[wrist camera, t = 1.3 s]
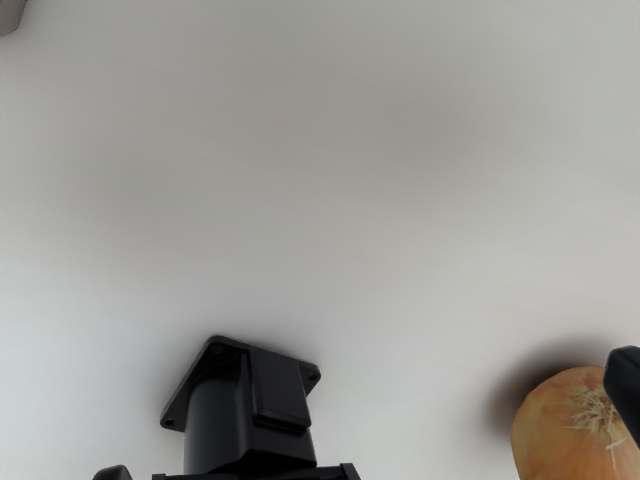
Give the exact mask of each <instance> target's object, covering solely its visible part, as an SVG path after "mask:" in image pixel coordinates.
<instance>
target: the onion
mask: <svg viewBox="0 0 640 480" xmlns="http://www.w3.org/2000/svg"><path fill="white" fill-rule="evenodd" d="M604 370H605V369H604V368H601V367H598V366H594V365H593V366H584V367H573V368H570V369H567V370H564V371H561V372H559V373H558V374H557V375H555V376H553V377H551V378H548V379H547V380H545V381H544V382H542V383H541V384H539V385H538V386H537V387H536V388H535V389H534V390H532V391H531V392H530V393H528V395H527V396H526V398H525V400H524V401H523V403H522V405H521V406H520V408H519V409H518V411H517V413H516V416H515V419H514V422H513V425H512V429H511V446H512V451H513V456H514V460H515V464H516V467H517V470H518V474H519V477H520V480H640V450H639V448H638V447H637V445H636V443H635V442H634V440H633V438H632V437H631V435H630V433H629V431H628V430H627V428H626V426H625V425H624V423H623V421H622V420H621V418H620V416H619V415H618V413H617V411H616V410H615V408H614V406H613V405H612V403H611V401H610V399H609V398H608V396H607V394H606V393H605V391H604V388H603V384H602V377H603V374H604Z"/></svg>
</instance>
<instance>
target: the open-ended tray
mask: <svg viewBox="0 0 640 480" xmlns="http://www.w3.org/2000/svg"><path fill="white" fill-rule="evenodd" d="M26 1H27V0H0V38H1V37H3V36H5V35H6V34H8V33H10V32H12V31H14V30H16V29H17V28H18V25H19V22H20V19H21V16H22V13H23V10H24V7H25V4H26Z"/></svg>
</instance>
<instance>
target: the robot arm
mask: <svg viewBox="0 0 640 480" xmlns="http://www.w3.org/2000/svg"><path fill="white" fill-rule="evenodd" d="M215 345H220V347H213V346H215ZM310 374H313V375H310ZM320 378H321V374H320V370H319V368H318V367H317V366H315V365H312V364H309V363H306V362H302V361H299V360H296V359H293V358H290V357H287V356H283V355H280V354H277V353H274V352H271V351H267V350H264V349H261V348H258V347H254V346H251V345H248V344H245V343H241V342H238V341H235V340H232V339H229V338H225V337H222V336H213V337H211V338H210V339H209V340H208V341H207V342H206V344H205V345H204V347H203V349H202V350H201V352H200V353H199V355H198V357H197V358H196V360H195V361H194V363H193V365H192V366H191V368H190V369H189V371H188V373H187V374H186V376H185V377H184V379H183V380H182V382H181V384H180V385H179V387H178V388H177V390H176V392H175V393H174V395H173V396H172V398H171V400H170V401H169V403H168V404H167V406H166V408H165V409H164V411H163V412H162V414H161V417H160V425H161V426H162V427H163V428H166V429H170V430H174V431H179V432H184V433H185V445H184V475H172V476H166V474H152V480H361V479H360V477H359V475H358V473H357V471H356V469H355V467H354V466H353V464H352V463H341V464H340V465H339V466H326V467H316V466H317V460H316V456H315V451H314V447H313V442H312V438H311V433H310V429H309V427H310V426H311V423H312V422H311V418H310V413H309V409H308V405H307V400H306V397H307V396H308V394H309V393H310V392H311V390H312V389H313V388H314V386H315V385H316V384H317V382H318V381H319V380H320ZM602 384H603V388H604V391H605V393H606V394H607V396H608V398H609V399H610V401H611V403H612V405H613V406H614V408H615V410H616V411H617V413H618V415H619V416H620V418H621V420H622V421H623V423H624V425H625V426H626V428H627V430H628V431H629V433H630V435H631V437H632V438H633V440H634V442H635V443H636V445H637V447H638V448H639V450H640V348H639V347H636V346H625V347H621V348H616V349H613V350H612V351H611V352H610V353H609V356H608V359H607V363H606V366H605V370H604V374H603V377H602ZM168 419H172V420H168ZM92 480H132V478H131V476H130V474H129V472H128V470H127V468H126V467H125V466H124V465H117V466H113V467H109V468H104V469H102V470H100V471H98V472H97V473H96V475H95V476H94V478H93V479H92Z"/></svg>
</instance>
